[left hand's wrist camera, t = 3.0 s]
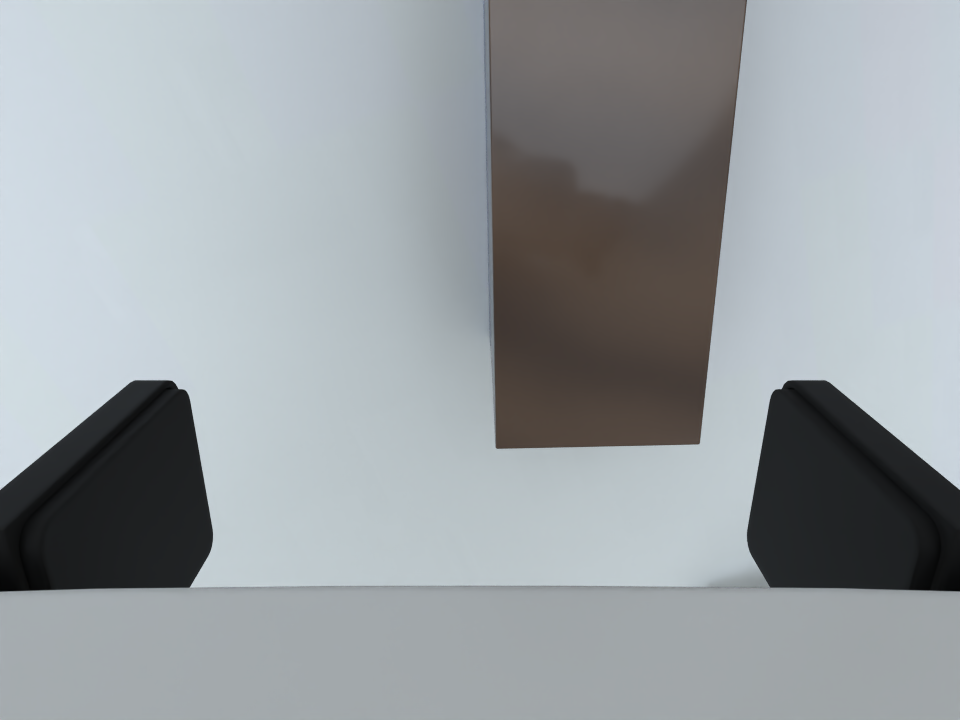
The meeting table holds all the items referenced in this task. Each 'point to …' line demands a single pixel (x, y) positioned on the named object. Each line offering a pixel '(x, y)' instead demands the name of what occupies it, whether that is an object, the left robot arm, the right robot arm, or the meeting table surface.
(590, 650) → the left robot arm
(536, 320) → the cabinet
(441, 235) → the meeting table surface
